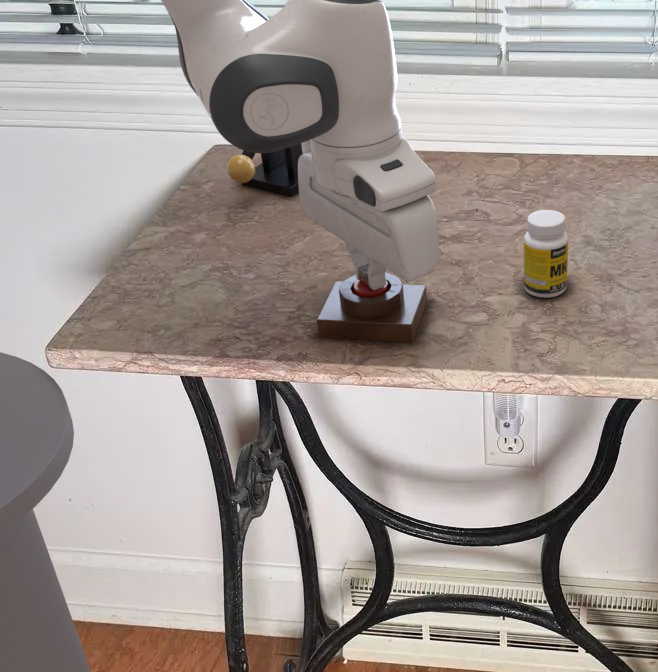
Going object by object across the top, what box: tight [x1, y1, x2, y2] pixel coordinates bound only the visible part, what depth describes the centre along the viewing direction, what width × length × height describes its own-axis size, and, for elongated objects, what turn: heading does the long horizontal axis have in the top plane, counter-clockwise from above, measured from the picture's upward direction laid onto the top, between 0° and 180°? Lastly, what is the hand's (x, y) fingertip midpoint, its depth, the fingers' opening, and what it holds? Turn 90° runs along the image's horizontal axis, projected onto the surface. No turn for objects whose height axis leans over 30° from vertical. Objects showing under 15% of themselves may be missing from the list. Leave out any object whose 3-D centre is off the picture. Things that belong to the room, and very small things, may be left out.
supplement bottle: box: [523, 209, 569, 299], centre depth 127 cm, size 5×5×8 cm
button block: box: [316, 271, 428, 343], centre depth 125 cm, size 10×8×4 cm
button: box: [353, 280, 389, 298], centre depth 124 cm, size 4×4×2 cm
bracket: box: [241, 143, 303, 198], centre depth 150 cm, size 10×8×13 cm
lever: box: [226, 150, 256, 184], centre depth 147 cm, size 14×3×3 cm
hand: (371, 283), depth 123 cm, fingers closed, pressing on button
